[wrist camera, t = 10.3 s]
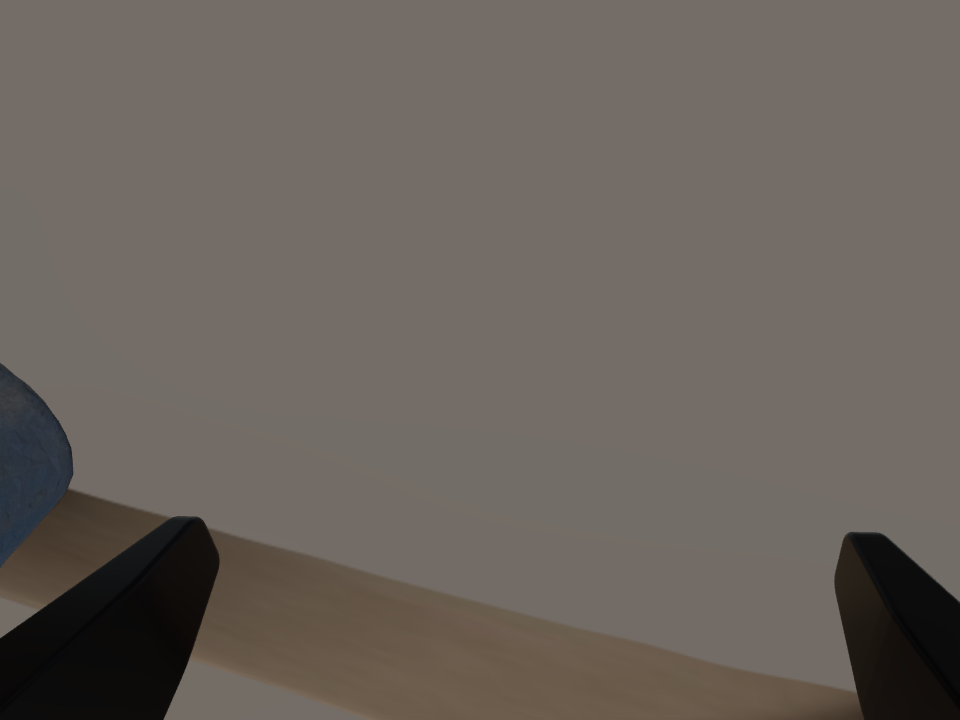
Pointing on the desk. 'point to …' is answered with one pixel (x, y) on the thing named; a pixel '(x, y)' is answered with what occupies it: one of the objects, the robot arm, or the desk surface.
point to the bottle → (28, 461)
